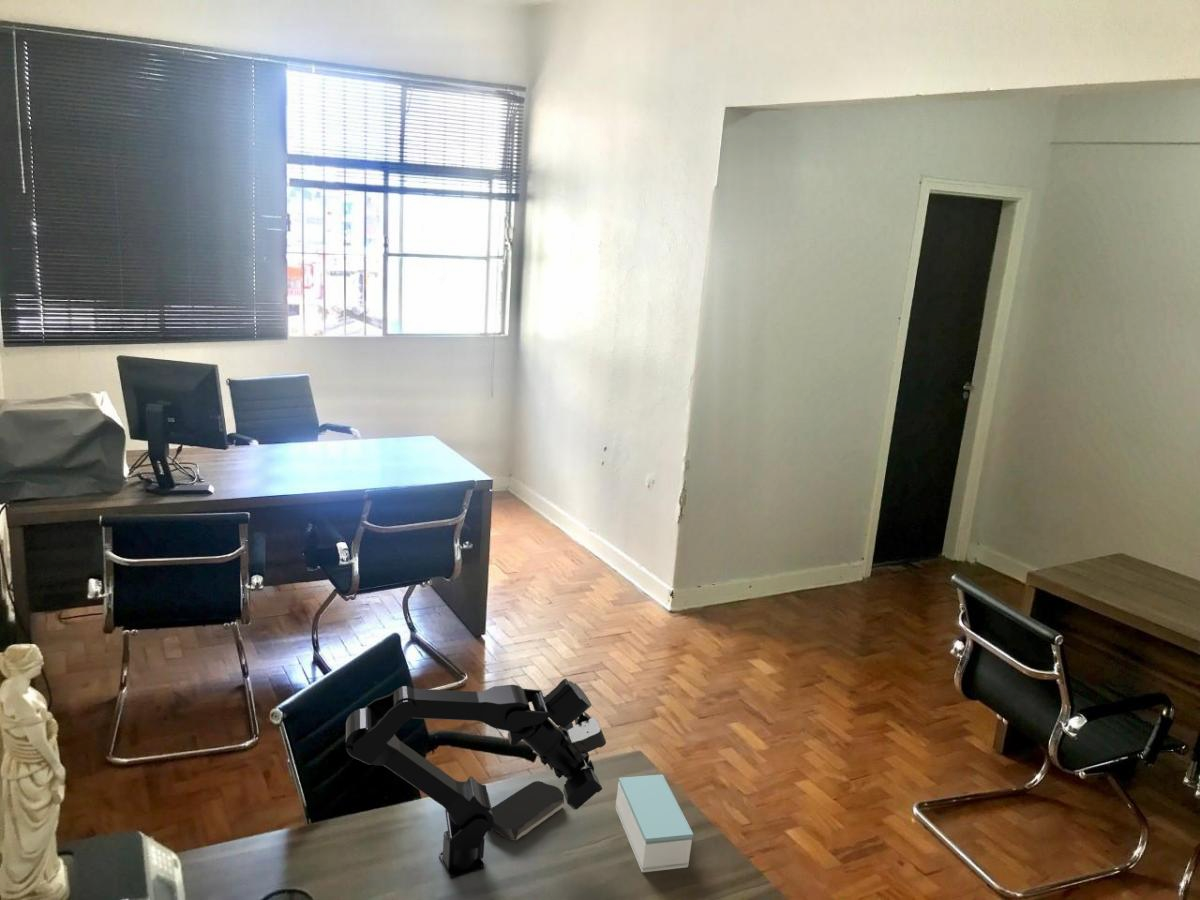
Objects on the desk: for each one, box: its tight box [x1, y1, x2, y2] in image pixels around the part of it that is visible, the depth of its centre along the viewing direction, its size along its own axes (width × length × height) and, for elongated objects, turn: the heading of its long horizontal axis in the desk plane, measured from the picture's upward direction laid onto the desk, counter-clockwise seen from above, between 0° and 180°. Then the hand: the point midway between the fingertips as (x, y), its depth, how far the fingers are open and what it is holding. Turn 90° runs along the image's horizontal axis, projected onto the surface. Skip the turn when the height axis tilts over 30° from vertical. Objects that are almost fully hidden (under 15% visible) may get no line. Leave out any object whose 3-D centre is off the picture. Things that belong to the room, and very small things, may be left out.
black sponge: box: [490, 780, 565, 841], centre depth 174 cm, size 16×8×4 cm, turn 141°
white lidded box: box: [615, 782, 693, 873], centre depth 172 cm, size 9×18×6 cm, turn 15°
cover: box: [618, 774, 694, 843], centre depth 171 cm, size 9×18×1 cm, turn 15°
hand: (600, 789), depth 164 cm, fingers closed
